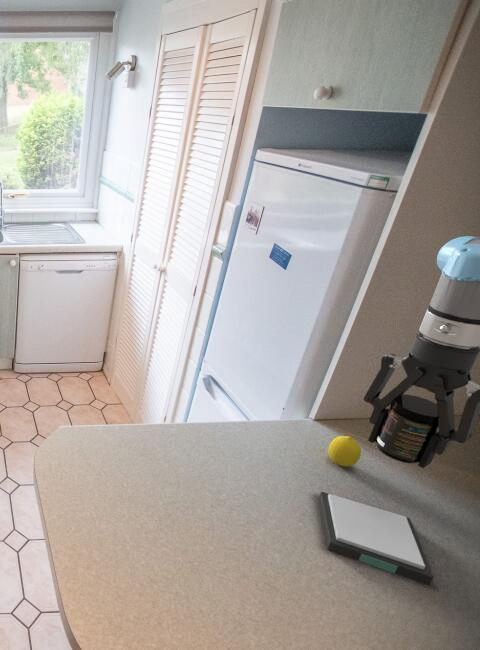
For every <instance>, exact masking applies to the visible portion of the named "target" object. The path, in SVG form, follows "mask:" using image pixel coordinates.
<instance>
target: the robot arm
mask: <svg viewBox="0 0 480 650" xmlns="http://www.w3.org/2000/svg"><path fill="white" fill-rule="evenodd" d="M436 265H437V267H438V269H440V271H441V275H440V277H439V280H438V282H437V285H436V287H435V290H434V292H433V295H432V298H431V300H430V303H429V305H428V307H427V309H426V312H425V314H424V316H423V319H422V321H421V324H420V326H419V332H420V333H417V334H416V335H415V338H414V340H413V343H412V345H411V347H410V350H409V352H408V354H407V355H406V356H404V357H403V356H397V355H396V354H394V353H388V354H386V355H385V356H382V357H381V359H380V360H381V361H380V369H379V370H378V373H377V374H376V375H375V378H374V379H373V381H372V383H371V385H370V386H369V388H368V390H367V392H366V394H365V395H364V397H363V401H364V402H365V403H368V404H370V405H371V406H372V407H373V409H372V412H371V414H370V417H369V420H368V421H369V423H370V424H372V425H373V427H372V430H371V432H370V435H369V437H368V440H367V442H369V443H371V444H375V443H376V439H377V437H378V434H379V432H380V430H381V427H382V425H383V423H384V420H385V418H386V415H387V413H388V411H389V408H388V407H390V405H391V403H392V401H393V399H394V398H397V397H399V396H401V395H402V394H405V393H407V391H409V390H410V389H411V388H412V387H413V386H415V387H416V388H421V389H424V390H427V391H428V392H430V393H433V394H434V399H435V401H436V404H437V412H438V416H439V418H438V426H439V428H438V431H437V432H436V433H435V434H434V435H432V437H431V439H430V441H429V443H428V445H427V447H426V449H425V451H424V453H423V456H422V458H421V460H420V462H419V463H417V466H418V467H419V468H422V469H424V468H426V467H427V466H429V465H430V464H431V463H432V461H433V459H434V457H435V455H439V456H441V455H443V454H444V453H446V452H447V450H448V448H449V446H450V444H451V443H452V441H454V442H457V443H458V444H465V443H466V442H467V441H469V440H470V439H472V437H473V435H474V431H475V428H476V424H477V422H478V419H479V416H480V384H478V383H477V382H475V381H473V380H472V376H471V371H472V369H473V367H474V365H475V363H476V361H477V359H478V357H479V355H480V236H472V235H471V236H470V235H464V236H459V237H456V238H453V239H451V240H449V241H448V242H446V243H445V244H444V245H443V246H442V247H441V248H440V249H439V251H438V252H437V257H436ZM400 366H402V367H403V369H404V372H405V374H406V377H405V378H404V379H403V380H401V381H400V382H399V384H397V385H396V386H395V387H393V388H392V389H391V390H389V392H388V393H387V394H385V395H384V396H383V397H382V398H380V395H381V394H382V392H383V390H384V389H385V387H386V385H388V382H389V380H390V379H391V377H392V375H393V373H394V372H395V370H396V369H397V368H399V367H400ZM463 387H464V388H465V389H466V392H465V393H466V396H467V397H468V398H467V400H466V401H465V403H464V407H463V411H462V413H461V418H460V420H459V424H458V428H457V430H456V421H455V420H456V419H455V405H454V403H455V402H454V398H455V390H458V389H460V388H463Z"/></svg>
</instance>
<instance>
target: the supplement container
mask: <svg viewBox="0 0 480 650" xmlns="http://www.w3.org/2000/svg"><path fill="white" fill-rule="evenodd" d="M388 409H389V411H388V413H387V415H386V418H385V420H384V423H383V425H382V427H381V430H380V432H379V434H378V437H377V439H376V442H375V446H376V448H377V449H378V450H379V451H380V452H381V453H382V454H384V455H385V456H387V457H388V458H390V459H392V460H394V461H397V462H400V463H405V464H411V465H412V464H419V462H420V460H421V458H422V456H423V453H424V451H425V449H426V447H427V445H428V443H429V441H430V439H431V437H432V435H434V434H435V433H437V432H438V431H439V426H438V418H439V416H438V412H437V402H434V401H432V400H429V399H426V398H424V397H421V396H417V395H412V394H405V393H404V394H402V395H401V396H399V397H397V398H394V399H393V401H392V403H391V404H390V406H389V408H388Z"/></svg>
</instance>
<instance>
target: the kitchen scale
mask: <svg viewBox="0 0 480 650" xmlns="http://www.w3.org/2000/svg"><path fill="white" fill-rule="evenodd" d="M317 498H318V502H319V503H318V504H319V510H320V515H321V521H322V527H323V533H324V539H325V545H326V550H327V551H330V552H333V553H336V554H339V555H342V556H344V557H347V558H350V559H352V560H356V561H358V562H361V563H363V564H366V565H368V566H372V567H375V568H377V569H381V570H383V571H387V572H389V573H392V574H396V575H399V576H402V577H405V578H407V579H411V580H413V581H416V582H419V583H422V584H425V585H427V586H430V584H431V582H432V581H433V579H434V576H433V574H432V570H431V568H430V565H429V563H428V560H427V558H426V555H425V553H424V550H423V548H422V545H421V543H420V540H419V537H418V535H417V533H416V530H415V527H414V525H413V522H412V519H411V518H410V517H407V516H404V515H401V514H398V513H394V512H392V511H388V510H385V509H381V508H378V507H374V506H372V505H368V504H365V503H362V502H358V501H355V500H352V499H348V498H345V497H341V496H338V495H335V494H332V493H327V492H325V491H320V494H319V495H318V497H317Z"/></svg>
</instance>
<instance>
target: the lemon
mask: <svg viewBox="0 0 480 650" xmlns="http://www.w3.org/2000/svg"><path fill="white" fill-rule="evenodd" d="M327 452H328V456H329V458H330V460H331V461H332V462H333V463H335V464H336V465H338V466H341V467H351V466H354V465H356V464H357V463H358V462H359V460H360V459H361V456H362V448H361V445H360V443H359V442H358V441H357V440H356V439H354V438H353V437H351V436H347V435H339V436H337V437H335V438H333V440H332V441H331V442H330V444H329V446H328V450H327Z"/></svg>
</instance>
